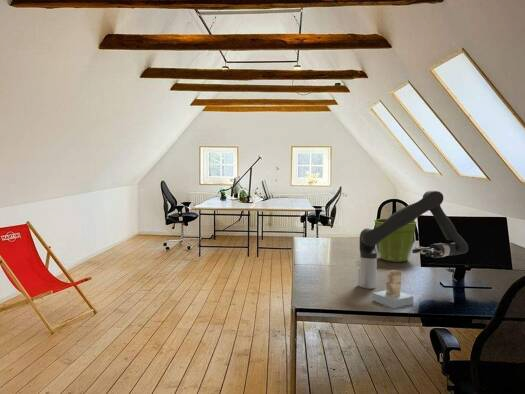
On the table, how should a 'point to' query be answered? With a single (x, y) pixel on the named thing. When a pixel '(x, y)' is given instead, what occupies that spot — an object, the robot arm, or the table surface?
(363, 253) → the robot arm
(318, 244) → the table surface
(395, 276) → the beech block
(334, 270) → the table surface
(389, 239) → the plant pot
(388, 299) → the base
